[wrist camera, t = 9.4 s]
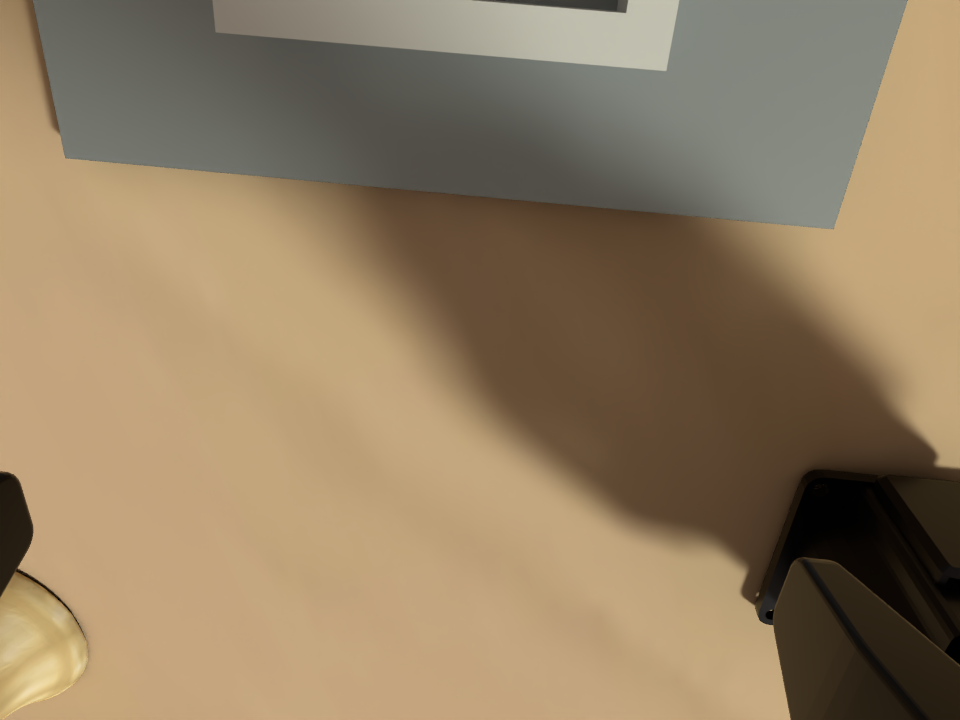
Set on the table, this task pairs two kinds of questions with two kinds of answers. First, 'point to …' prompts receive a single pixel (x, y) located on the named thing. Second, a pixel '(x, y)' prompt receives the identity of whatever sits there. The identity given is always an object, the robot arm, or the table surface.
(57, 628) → the hand bell
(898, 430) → the table surface
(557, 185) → the socket board
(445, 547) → the table surface
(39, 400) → the table surface
